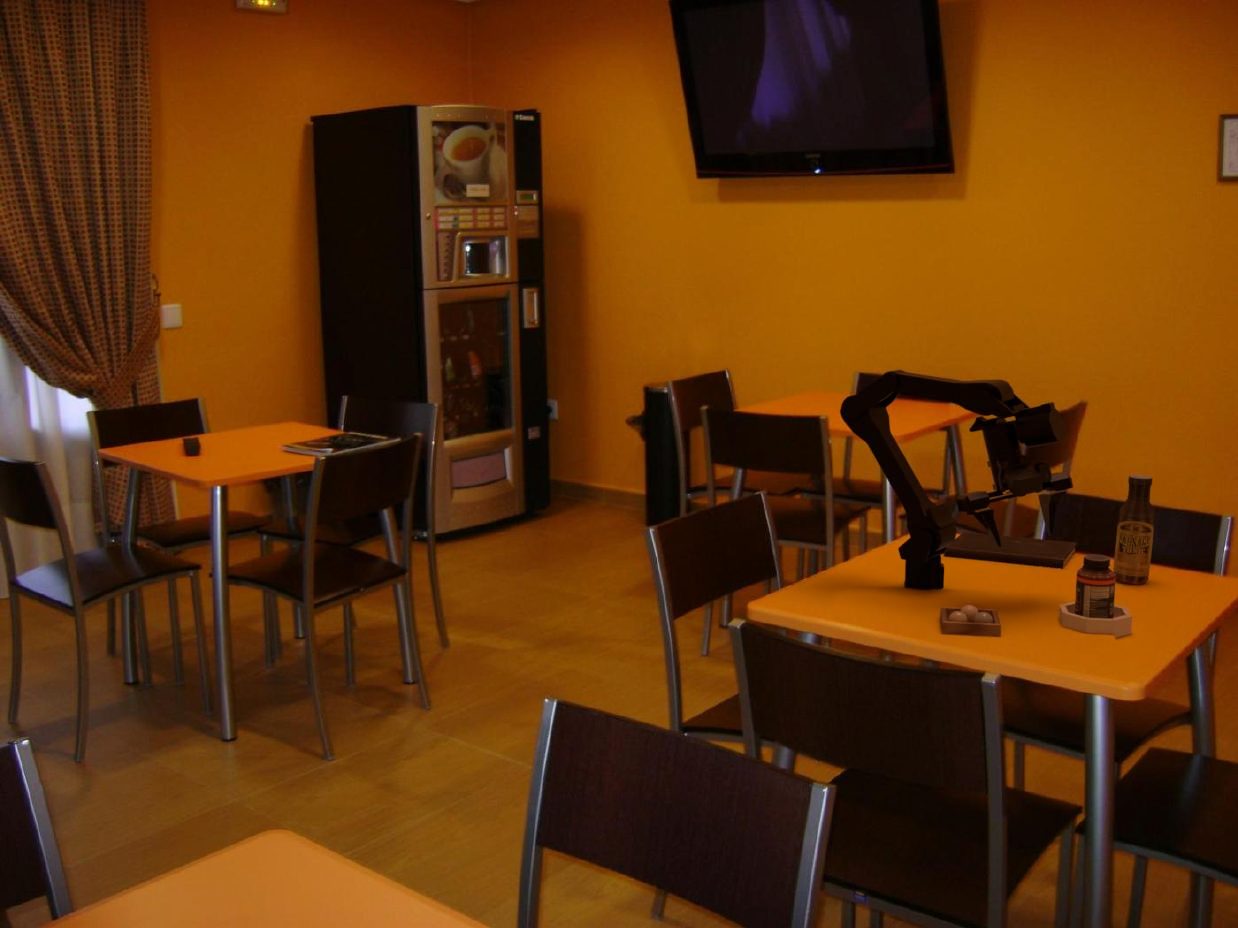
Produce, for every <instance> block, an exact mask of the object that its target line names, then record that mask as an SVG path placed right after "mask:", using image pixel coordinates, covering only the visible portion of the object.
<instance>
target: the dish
mask: <svg viewBox="0 0 1238 928" xmlns="http://www.w3.org/2000/svg"><path fill="white" fill-rule="evenodd" d="M1058 608H1059V610H1058V611H1059V612H1058V620H1059V621H1060V624H1061V626H1062V627H1064V628H1067V629H1071V630H1075V631H1077V632H1082V633H1085V634H1106V635H1113V637H1114V638H1115V639H1118V638H1120V637H1121V638H1122V637H1125V636H1128V635H1131V634H1132V623H1133V615H1132V612H1130V610H1129V609H1128V607H1124V606H1121V605H1118V604H1114V615H1113V619H1106V618H1087V617H1083V616H1080V615H1076V614H1075V600H1074V601H1070V602H1066V603H1063V604H1060V605H1059V607H1058Z"/></svg>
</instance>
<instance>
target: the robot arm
mask: <svg viewBox="0 0 1238 928" xmlns="http://www.w3.org/2000/svg"><path fill="white" fill-rule="evenodd" d="M899 395H903V396H911V397H916V398H923V399H927V400H934V401H939V402H945V403H951V404H955V405H957V406H959V407H960V408H962V409H964V410H966V411H968V412H971V413H973V414H974V413H975V414H976V415H979V416H977V417H975V420H974V422H973V424H972V425H971V426H970V427H969V429H968V431H969V432H970V433H974V432H975V433H976V432H979V431H982V436H983V441H984V445H985V450H986V453H987V457H988V461H986V463H987V467H988V468H990V472H991V475H992V480H993V484H992V489H993V491H990V492H988V491H986V490H976V491H970V492H967V493H963V494H959V495H958V496H957V498H956V505H957V510H958V512H963V513H966V515H968V516H973V517H974V518H975V519H976V520H977V521H978V523H980V526H982V527H983V528H984V530H985V531H986V532H987V533H986V534H989V536H990V537H991V539H992V540H993V541H994V543H995V544H996V546H997V547H999V548H1000V547H1001V541H1000V537H999V535H1000V533H999V531H998V527H997V525H996V524H997V523H996V520H995V517H994V515H995V514H994V513H995V512H994V510H995V509H994V508H990V506H989V505H991V503H992V504H993V503H997V502H1000V501H1005V500H1009V499H1012V498H1013V499H1014V498H1022V497H1025V496H1027V495H1030V494H1034V493H1035V494H1037V496H1038V501H1039V505H1040V510H1041V514H1042V518H1043V522H1044V527H1045V530H1046V532H1047V534H1048V536H1053V535H1054V527H1055V523H1056V521H1055V520H1056V513H1057V512H1056V511H1057V508H1058V504H1059V501H1060V500H1061V498H1062V497H1063V496H1066V495H1067V494H1068V493H1067V492H1068V491H1065V490H1069V489H1073V488H1074V484H1073V480H1072V477H1071V476H1070V474H1069V473H1067V472H1065V471H1064V472H1053V473H1052V469H1051V466H1050V463H1049V462H1048V461H1047V460H1043V461H1038V462H1035V463H1034V465H1030V462H1029V461H1028V457H1027V454H1024V452H1023V448H1022V444H1024V446H1025V447H1027V448H1029V449H1030V448H1035V447H1040V446H1046V445H1051V444H1056V443H1062V442H1063V441H1064V440H1065V438H1066V425H1065V423H1066V422H1065V420H1064V419H1063V418H1062V416H1061V414H1060V412H1059V410H1058V409H1057V408H1056V405H1055V403H1054V401H1051V402H1047V403H1043V404H1040V405H1037V406H1033V407H1030V406H1029V405H1028V404H1026V402H1024V401H1023V400H1022V399H1021V398H1020V397H1019V396H1018V395H1016V394H1015V391H1014V389H1013V387H1012V386H1011V384H1010V383H1009V382H1008V381H1006V380H1004V379H977V380H959V379H958V380H957V379H953V378H945V377H941V376H933V375H926V374H921V373H915V372H914V373H913V372H909V371H905V370H903V369H893V370H890V371H886V372H884V374H882V375H881V376H880V377H878V379H876V380H875V381H874V382H872V383H871V384H870V385H869V384H868V386H867V387H865V388H863V389H862V390H860V391H859V392H857V393H856V394H851V395H849V396H847V397H845V399H843V401H842V403H841V406H840V409H839V414H840V416H841V420H843V422H844V423H845V425H846V426H847V427H848V429H849V430H850V431H851V432H852V433H853V434H854V435H856V436H857V437H858V438H859V439H860V440H861V441H863V442H865V444H867V446H868V448H869V450H870V451H871V453H872V454H873V455H872V456H873V458H875V460H876V462H877V464H878V466H879V467H880V469H881V471H882V473H883V474H884V476H885V478H886V480H887V481H888V483H889V485H890V487H891V489H892V490H893V492H894V495H896V498H897V499H898V501H899V503H900V504H901V507H902V508H903V510H904V512H905V523H906V530H907V532H908V535H909V538H908V539H907V540H906V541H904V542H903V543H902V544H901V545H900V546H899V547H898V553H899V557H900V560H903V561H904V562H905V563H904V566H905V567H904V581H903V587H904V589H912V590H919V591H930V590H931V591H932V590H943V589H944V587H945V582H944V581H945V564H944V563H943V562H942V555H944V554H945V553H946V550H947V548H948V546H950V545H951V544H952V543H953V542H954V540H955V539H956V538H957V532H958V530H957V527H956V525H955V524H956V523H957V520H956V519H955V518H954V517H953V516H952V515H951V513H950V510H949V509H948V506H947V504H946V503H945V502H941V503H939V504H936V503H935V502H933V501H932V500H931V499H930V497H929V496H928V495H927V493H926V492H925V489H924V488H923V487H922V485H921V482H920V481H919V480H918V477H917V476H916V474H915V472H914V470H913V469H912V467H911V464H910V463H909V462H908V460H907V458H906V456H905V454H904V453H903V452H902V449H901V448H900V446H899V445H898V442H897V441H896V439H895V437H894V436H893V434H892V431H891V424H890V415H889V412H888V410H887V408H888V407H889V406H890V405H891V404H893V403H894V402H895V401H896V399H897V398H898V397H899ZM989 416H995V417H991V418H986V417H989ZM1012 417H1014V419H1013V420H1008V421H1007V420H1006V419H1007V418H1012Z"/></svg>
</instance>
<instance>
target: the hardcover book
mask: <svg viewBox="0 0 1238 928" xmlns="http://www.w3.org/2000/svg"><path fill="white" fill-rule="evenodd" d="M999 537H1000V541H1001V547H1000V548H999V547H997V546H996V544H995V543H994V541H993V540H992V539H991V537H990V536H989V534H988V533H980V532H972V531H971V532H969V531H963V532H961V534H959V535H958V536H956V537H955V540H954V542H953V543H952V544H951V545H950V546H948V548H947V550H946V553H945V554H943V557H944V558H945V557H946V558H955V559H964V560H974V561H985V562H991V563H992V562H993V563H1003V564H1012V565H1020V566H1021V565H1022V566H1032V567H1039V566H1042V567H1041V568H1048V567H1050V568H1049V569H1058V568H1060V570H1063V569H1064V567H1063V566H1065V565H1066V564H1067V563H1068V561H1069V560H1070V559H1071V558H1072V556H1073V555H1072V554H1075V552H1076V547H1077V546H1078V542H1075V541H1074V542H1073V541H1064V540H1063V541H1061V540H1052V539H1043V538H1042V539H1041V538H1040V539H1039V538H1032V537H1030V538H1029V537H1021V536H1020V537H1019V536H1012V535H1011V536H1010V535H1000V534H999ZM1069 558H1070V559H1069ZM1052 567H1053V568H1052Z"/></svg>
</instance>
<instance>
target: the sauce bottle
mask: <svg viewBox="0 0 1238 928" xmlns="http://www.w3.org/2000/svg"><path fill="white" fill-rule="evenodd" d="M1127 483H1128V492H1127V493H1128V494H1127V499H1125V502H1124V503H1123V505H1122V506H1121V507H1120V509H1119V516H1118V523H1117V529H1116V540H1115V547H1114V548H1115V549H1114V556H1113V557H1114V560H1113V569H1112V571H1113V572H1114V573H1115V582H1119V583H1121V584H1127V585H1128V584H1129V585H1143V584H1145V583H1147V582H1148V580H1149V575H1150V571H1151V570H1150V568H1151V561H1152V560H1151V559H1152V550H1153V539H1154V531H1155V529H1154V525H1155V515H1156V512H1155V510H1154V508H1153V505H1152V504H1151V502H1150V500H1151V487H1152V485H1153V476H1150V475H1146V474H1129V476H1128V480H1127Z"/></svg>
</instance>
